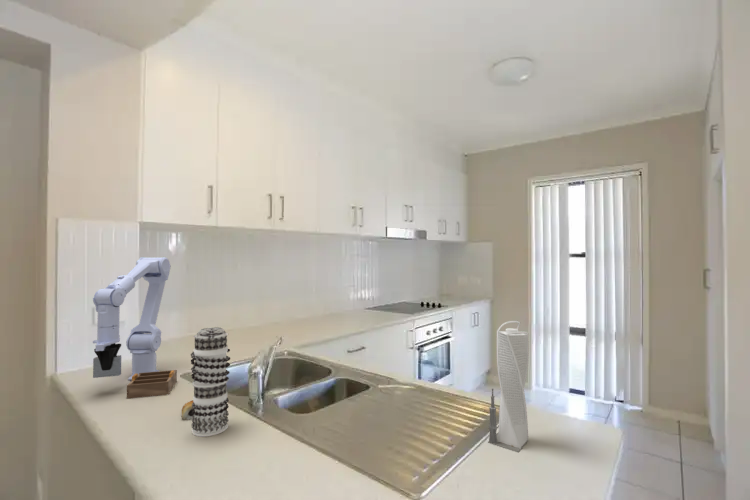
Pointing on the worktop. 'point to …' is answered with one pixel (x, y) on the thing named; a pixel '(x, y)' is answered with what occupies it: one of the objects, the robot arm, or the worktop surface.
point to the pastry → (187, 411)
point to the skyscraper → (511, 390)
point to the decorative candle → (210, 382)
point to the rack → (151, 384)
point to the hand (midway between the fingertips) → (107, 368)
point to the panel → (113, 371)
